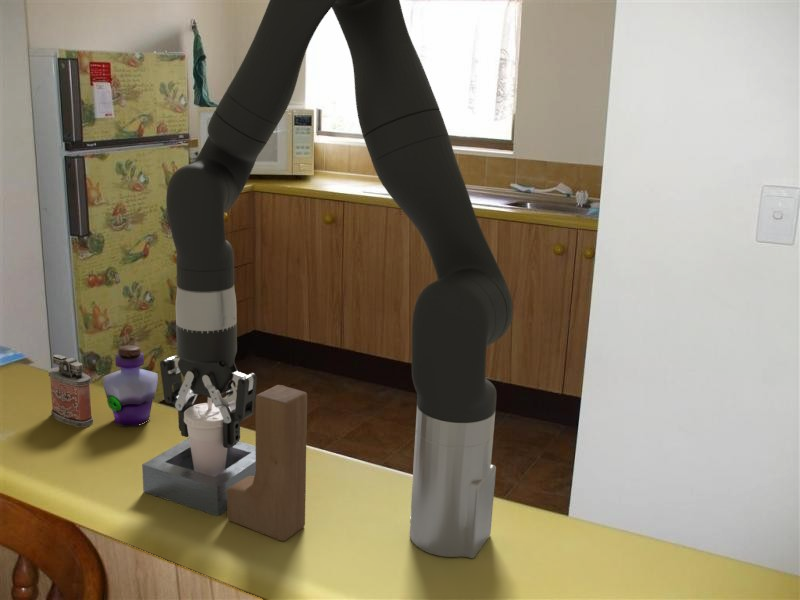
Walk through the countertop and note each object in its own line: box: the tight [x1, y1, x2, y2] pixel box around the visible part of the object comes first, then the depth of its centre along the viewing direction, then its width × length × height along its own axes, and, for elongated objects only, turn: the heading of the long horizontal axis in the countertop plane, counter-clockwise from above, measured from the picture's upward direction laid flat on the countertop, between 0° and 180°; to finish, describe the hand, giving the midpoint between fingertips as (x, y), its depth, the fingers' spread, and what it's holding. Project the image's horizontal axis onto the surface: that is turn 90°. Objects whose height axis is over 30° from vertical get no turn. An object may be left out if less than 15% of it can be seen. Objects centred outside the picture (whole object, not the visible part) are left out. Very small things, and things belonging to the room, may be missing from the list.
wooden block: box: [226, 384, 308, 542], centre depth 103 cm, size 9×4×18 cm, turn 60°
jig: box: [142, 437, 256, 517], centre depth 113 cm, size 12×12×4 cm
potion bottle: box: [102, 344, 159, 428], centre depth 131 cm, size 9×9×12 cm
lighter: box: [47, 354, 94, 428], centre depth 130 cm, size 8×3×10 cm, turn 58°
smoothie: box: [184, 397, 231, 477], centre depth 112 cm, size 6×6×14 cm
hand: (209, 439), depth 112 cm, fingers closed on smoothie, 6 cm apart
